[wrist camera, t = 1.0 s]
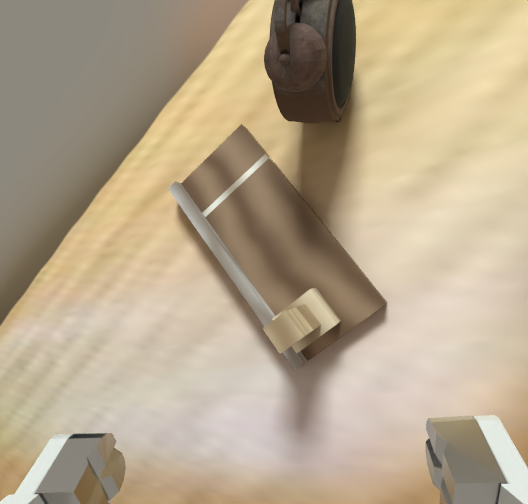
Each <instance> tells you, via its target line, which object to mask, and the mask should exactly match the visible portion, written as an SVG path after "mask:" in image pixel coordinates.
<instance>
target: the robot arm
mask: <svg viewBox="0 0 528 504" xmlns="http://www.w3.org/2000/svg"><path fill="white" fill-rule="evenodd" d="M426 430H427V433H428V436H429V439H428V440H427V441H426V458H427V465H428V469H429V473H430V476H431V479H432V482H433V485H434V486H436V487H437V488H438V489H439V490H440V504H528V467H527V466H526V464H525V462H524V460H523V459H522V457H521V455H520V453H519V452H518V450H517V448H516V447H515V445H514V443H513V441H512V440H511V438H510V436H509V435H508V433H507V431H506V429H505V428H504V426H503V424H502V423H501V421H500V419H499V418H498V417H497V416H495V415H488V416H472V417H471V416H459V417H442V418H428V420H427V424H426ZM115 443H116V440H115V438H114V436H113V435H112V433H96V434H57V435H55V436H54V437H53V438H52V439H50V441H49V442H48V444H47V445H46V447H45V448H44V450H43V451H42V453H41V454H40V456H39V458H38V459H37V461H36V462H35V464H34V465H33V467H32V468H31V470H30V471H29V473H28V474H27V476H26V477H25V479H24V480H23V482H22V483H21V485H20V486H19V488H18V490H17V491H16V493H15V494H14V495H8V496H7V497H5V498H4V499H3V500H2V501H0V504H111V502H110V500H111V499H112V498H113V497H114V496H115V495H116V494H117V493H118V492H119V491H120V488H121V486H122V483H123V481H124V475H125V468H126V467H125V460H124V457H123V455H122V453H121V452H120V451H118V450H117V449H115V448H114V446H115Z"/></svg>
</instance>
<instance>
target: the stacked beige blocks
mask: <svg viewBox="0 0 528 504" xmlns="http://www.w3.org/2000/svg"><path fill="white" fill-rule="evenodd" d="M272 320H273V321H272V322H271V323H269V324H268V325H267V326H266V327H264V328H263V330H264V332H265V333H266V335H267V336H268V338H269V339H270V340H271V342H272V343H273V345H274V346H275V348H276V349H277V350H278V352H279V353H280V354H281V353H283V352H284V351H285V350H287V349H288V348H290V347H291V346H292V348H293V349H294V351H295V352H296V353H298V352H300V351H301V350H302V349H304V348H305V347H306V346H308V345H309V344H311V343H312V342H313V341H315V340H316V339H317V338H319V337H320V336H322V335H323V334H324V333H326V332H327V331H328V330H330V329H331V328H332V327H334V326H335V325H337V324H338V323H339V322H340V321H341V320H340V319H339V317H338V316H337V315H336V314H335V312H334V311H333V310H332V308H331V307H330V306H329V304H328V303H327V302H326V300H325V299H324V298H323V296H322V295H321V294H320V292H319V291H318V290H317V289H316V288H312V289H310V290H308V291H307V292H306V293H304V294H303V295H302V296H301V297H299V298H298V299H297V300H295V301H294V302H293V303H292V304H290V305H289V306H288V307H286V308H285V309H284V310H283V311H281V312H280V313H279V314H278V315H276V316H275V317H274V318H272Z"/></svg>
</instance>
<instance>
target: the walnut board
mask: <svg viewBox="0 0 528 504" xmlns="http://www.w3.org/2000/svg"><path fill="white" fill-rule="evenodd" d="M168 189H169V191H170V192H171V194H172V195H173V196H174V198H175V199H176V201H177V202H178V204H179V205H180V206H181V208H182V209H183V211H184V212H185V214H186V215H187V216H188V218H189V219H190V221H191V222H192V224H193V225H194V227H195V228H196V229H197V231H198V232H199V234H200V235H201V237H202V238H203V239H204V241H205V242H206V244H207V245H208V247H209V248H210V249H211V251H212V252H213V254H214V255H215V257H216V258H217V260H218V261H219V262H220V264H221V265H222V267H223V268H224V270H225V271H226V272H227V274H228V275H229V277H230V278H231V280H232V281H233V282H234V284H235V285H236V287H237V288H238V290H239V291H240V293H241V294H242V295H243V297H244V298H245V300H246V301H247V303H248V304H249V305H250V307H251V308H252V310H253V311H254V313H255V314H256V315H257V317H258V318H259V320H260V321H261V323H262V324H263V326H264V327H266V326H267V325H268V324H269V323H271V322H272V321H273V320H272V318H274V317H275V316H276V315H278V314H279V313H280V312H281V311H283V310H284V309H285V308H286V307H288V306H289V305H290V304H292V303H293V302H294V301H295V300H297V299H298V298H299V297H301V296H302V295H303V294H304V293H306V292H307V291H308V290H310V289H312V288H316V289H317V290H318V291H319V292H320V294H321V295H322V296H323V298H324V299H325V300H326V302H327V303H328V304H329V306H330V307H331V308H332V310H333V311H334V312H335V314H336V315H337V316H338V317H339V319H340V320H341V321H340V322H339V323H338V324H337V325H335V326H334V327H332V328H331V329H330V330H328V331H327V332H326V333H324V334H323V335H322V336H320V337H319V338H317V339H316V340H315V341H313V342H312V343H311V344H309V345H308V346H306V347H305V348H304V349H302V350H301V351H300V352H298V353H296V352H295V351H294V349H293V348H292V346H291V347H290V348H288V349H287V350H285V351H284V352H283V354H284V356H285V357H286V359H287V360H288V361H289V363H290V364H291V366H292V367H293V369H294V370H296V369H298V368H299V367H301V366H302V365H303V364H305V363H306V362H307V361H308V360H309V359H311V358H312V357H313V356H315V355H316V354H318V353H319V352H320V351H322V350H323V349H325V348H326V347H327V346H329V345H330V344H331V343H333V342H334V341H336V340H337V339H338V338H340V337H341V336H343V335H344V334H345V333H347V332H348V331H350V330H351V329H352V328H354V327H355V326H356V325H358V324H359V323H361V322H362V321H363V320H365V319H366V318H368V317H369V316H370V315H372V314H373V313H375V312H376V311H377V310H379V309H380V308H381V307H383V306H384V305H386V304H387V302H386V301H385V299H384V298H383V297H382V296H381V294H380V293H379V292H378V291H377V289H376V288H375V287H374V286H373V284H372V283H371V282H370V281H369V279H368V278H367V277H366V276H365V274H364V273H363V272H362V271H361V270H360V268H359V267H358V266H357V265H356V263H355V262H354V261H353V260H352V258H351V257H350V256H349V255H348V253H347V252H346V251H345V250H344V248H343V247H342V246H341V245H340V243H339V242H338V241H337V240H336V239H335V237H334V236H333V235H332V234H331V232H330V231H329V230H328V229H327V227H326V226H325V225H324V224H323V222H322V221H321V220H320V219H319V217H318V216H317V215H316V214H315V212H314V211H313V210H312V209H311V208H310V206H309V205H308V204H307V203H306V201H305V200H304V199H303V198H302V196H301V195H300V194H299V193H298V191H297V190H296V189H295V188H294V186H293V185H292V184H291V183H290V181H289V180H288V179H287V178H286V177H285V175H284V174H283V173H282V172H281V170H280V169H279V168H278V167H277V165H276V164H275V163H274V162H273V160H272V159H271V158H270V157H269V155H268V154H267V153H266V152H265V150H264V149H263V148H262V147H261V146H260V144H259V143H258V142H257V141H256V139H255V138H254V137H253V136H252V134H251V133H250V132H249V131H248V129H247V128H245V127H244V126H243V125H242V124H241V125H240V126H239V127H238V128H237V129H236V130H235V131H234V132H233V133H232V134H231V135H230V136H229V137H228V138H227V139H226V140H225V141H224V142H223V143H222V144H221V145H220V146H219V147H218V148H217V149H216V150H215V151H214V152H213V153H212V154H211V155H210V156H209V157H208V158H207V159H206V160H205V161H204V162H203V163H202V164H201V165H200V166H199V167H198V168H197V169H196V170H195V171H193V172H192V173H191V174H190V175H189V176H188V177H187V178H186V179H185V180H184V181H183V182H182V183H178V182H174V183H173V184H172V185H171V186H170V187H169V188H168Z"/></svg>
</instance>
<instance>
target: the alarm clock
mask: <svg viewBox="0 0 528 504" xmlns="http://www.w3.org/2000/svg"><path fill="white" fill-rule="evenodd" d="M355 50H356V26H355V15H354V9H353V4H352V0H275V1H274V6H273V11H272V17H271V25H270V39H269V41H268V44H267V46H266V49H265V55H264V63H265V69H266V71H267V74H268V76H269V78H270V79H271V81H272V84H273V90H274V94H275V98H276V102H277V105H278V107H279V110H280V112H281V114H282V115H283V117H284V118H285V119H286V120H288V121H295V122H303V123H319V122H329V121H336V122H340V121H341V118H340V116H341V114H342V113H343V111H344V110H345V107H346V105H347V101H348V97H349V93H350V88H351V83H352V79H353V72H354V64H355Z"/></svg>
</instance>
